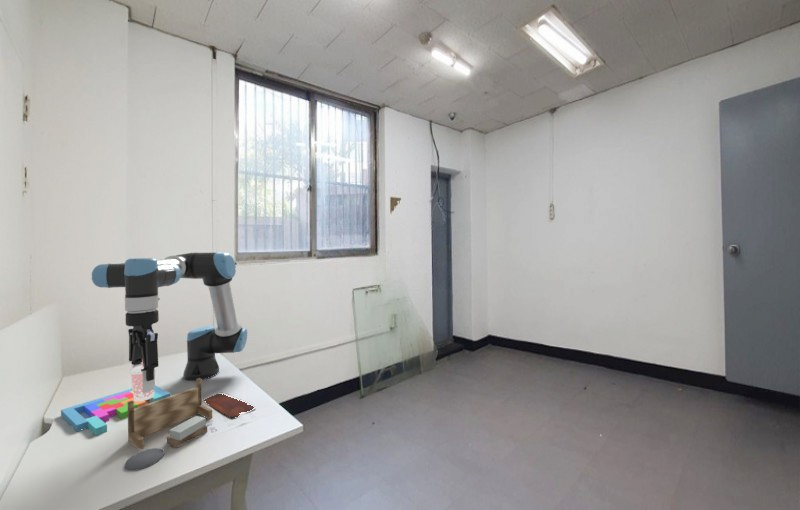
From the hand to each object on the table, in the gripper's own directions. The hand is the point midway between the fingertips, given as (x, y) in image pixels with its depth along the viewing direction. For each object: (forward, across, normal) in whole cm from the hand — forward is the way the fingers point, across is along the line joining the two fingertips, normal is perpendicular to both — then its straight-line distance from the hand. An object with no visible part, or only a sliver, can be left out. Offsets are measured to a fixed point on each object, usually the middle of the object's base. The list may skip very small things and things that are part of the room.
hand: (143, 388), depth 93 cm
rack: (+22, +11, -12) cm, 27 cm away
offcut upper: (+20, +1, -12) cm, 23 cm away
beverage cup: (+3, 0, 0) cm, 3 cm away
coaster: (+22, 0, 0) cm, 22 cm away
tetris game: (+22, +43, -8) cm, 49 cm away
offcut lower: (+22, +1, -12) cm, 25 cm away
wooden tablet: (+22, +12, -32) cm, 41 cm away
